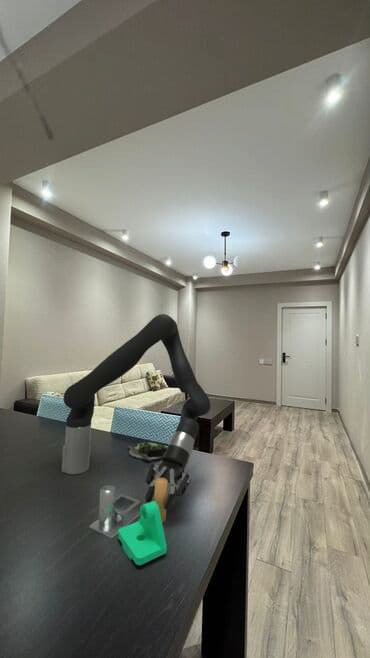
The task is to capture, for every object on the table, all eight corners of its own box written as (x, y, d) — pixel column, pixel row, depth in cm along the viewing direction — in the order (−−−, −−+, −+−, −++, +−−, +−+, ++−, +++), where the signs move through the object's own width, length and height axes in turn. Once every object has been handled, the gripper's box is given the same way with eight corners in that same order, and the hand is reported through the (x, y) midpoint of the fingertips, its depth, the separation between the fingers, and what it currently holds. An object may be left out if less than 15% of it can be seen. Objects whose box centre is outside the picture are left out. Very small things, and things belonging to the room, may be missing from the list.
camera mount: (116, 539, 75) (118, 499, 75) (142, 529, 79) (144, 491, 79) (137, 571, 65) (139, 525, 65) (166, 557, 69) (168, 514, 70)
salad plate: (116, 455, 126) (117, 445, 126) (140, 442, 142) (141, 433, 142) (153, 466, 117) (154, 455, 117) (175, 451, 133) (175, 441, 133)
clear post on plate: (120, 504, 89) (122, 470, 90) (141, 513, 86) (143, 477, 86) (89, 527, 79) (91, 488, 79) (111, 538, 75) (113, 497, 75)
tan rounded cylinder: (152, 523, 81) (154, 483, 82) (153, 515, 85) (155, 477, 85) (165, 523, 82) (167, 484, 82) (165, 515, 85) (167, 477, 85)
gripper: (156, 439, 94) (131, 493, 83) (196, 449, 87) (174, 509, 76) (164, 450, 98) (141, 502, 88) (202, 460, 91) (182, 519, 81)
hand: (156, 505), depth 82 cm, fingers open, 5 cm apart
